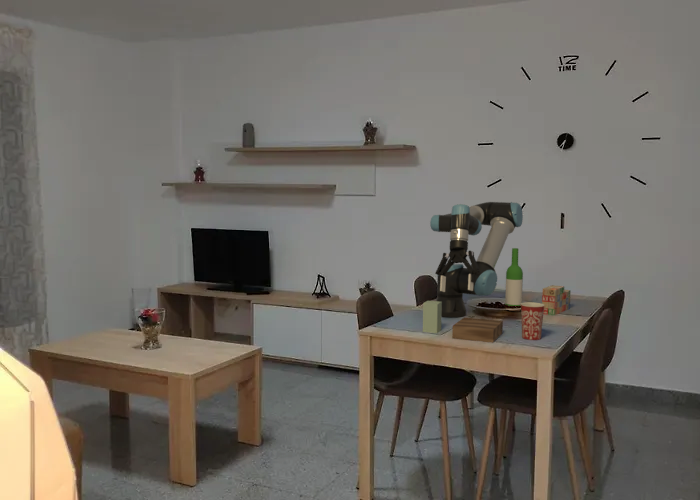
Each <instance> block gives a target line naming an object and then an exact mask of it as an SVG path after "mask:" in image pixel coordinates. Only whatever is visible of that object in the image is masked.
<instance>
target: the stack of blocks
mask: <svg viewBox="0 0 700 500" xmlns="http://www.w3.org/2000/svg"><path fill="white" fill-rule="evenodd" d="M541 304H544V305H545V306H544V312H543V315H548V316H556V315H559V314H561V313H563V312H565V311H568V310H570V309H571V289H565V286H562V285H554V284H552V285H549V286H547V287H543V288H542V295H541Z"/></svg>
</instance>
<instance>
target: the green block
mask: <svg viewBox="0 0 700 500" xmlns="http://www.w3.org/2000/svg"><path fill="white" fill-rule="evenodd" d="M441 314H442V302H439V301H436V300H426V301H425V302H423V303H422V333H431V334H438V333H439V332H440V333H441V331H442V316H441Z"/></svg>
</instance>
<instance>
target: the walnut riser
mask: <svg viewBox="0 0 700 500" xmlns="http://www.w3.org/2000/svg"><path fill="white" fill-rule="evenodd" d="M503 328H504V321H503V320H497V319H495V320H494V319H486V318H473V317H465V316H463V318H461V319H460V320H458V321H457V322H455V324H453V325H452V331H451V333H452V335H451V339H452V340H453V339H454V340H456V339H457V340H462V341H463V340H464V341H474V342H482V343H483V342H484V343H492V344H494V342H495V341H496V340H497V339H498V338H499V337H500V336H501V335H502V334H503V333H504V332H503Z"/></svg>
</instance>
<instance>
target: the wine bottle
mask: <svg viewBox="0 0 700 500" xmlns="http://www.w3.org/2000/svg"><path fill="white" fill-rule="evenodd" d="M523 275H524V272H523V269H522V267H521V266H519V248H516V247H512V248H511V264H510V266H509V267H508V268H507V269H506V272H505V295H504V296H505V297H504V298H505V300H504V306H505V305H508V306H520V305H521V303H523V285H524V284H523V280H524V276H523Z"/></svg>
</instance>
